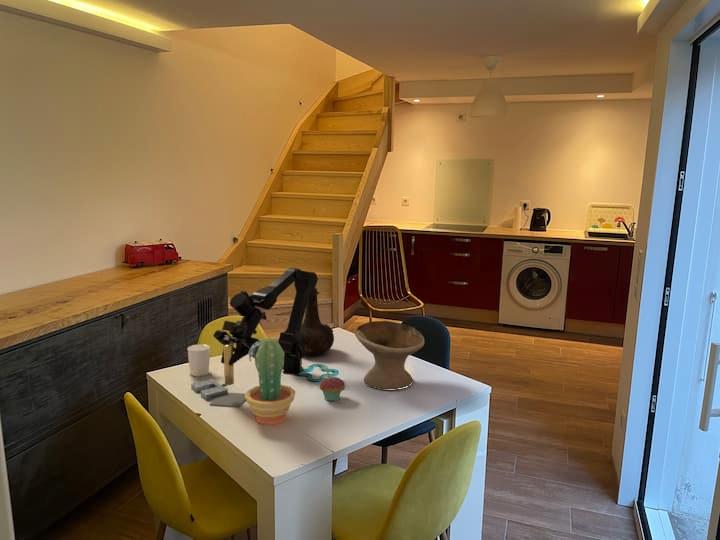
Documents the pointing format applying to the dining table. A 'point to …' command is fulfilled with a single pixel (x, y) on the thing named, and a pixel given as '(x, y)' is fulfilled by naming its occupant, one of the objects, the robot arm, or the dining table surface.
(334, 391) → the cupcake
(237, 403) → the rubber mat
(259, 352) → the potted cactus
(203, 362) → the white cup
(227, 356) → the brass rod
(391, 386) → the bowl
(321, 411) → the dining table surface
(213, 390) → the vise
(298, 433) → the dining table surface
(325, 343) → the brown vase
